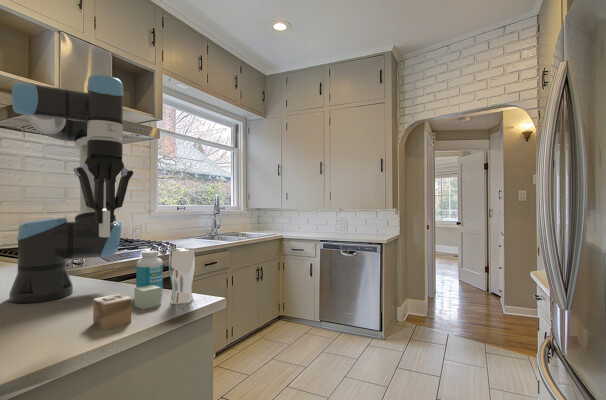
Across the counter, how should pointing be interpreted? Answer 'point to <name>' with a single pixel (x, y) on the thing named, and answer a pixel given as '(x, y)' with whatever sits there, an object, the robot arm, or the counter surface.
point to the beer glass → (181, 274)
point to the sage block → (147, 296)
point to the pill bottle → (149, 270)
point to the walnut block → (111, 311)
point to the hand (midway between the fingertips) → (104, 236)
